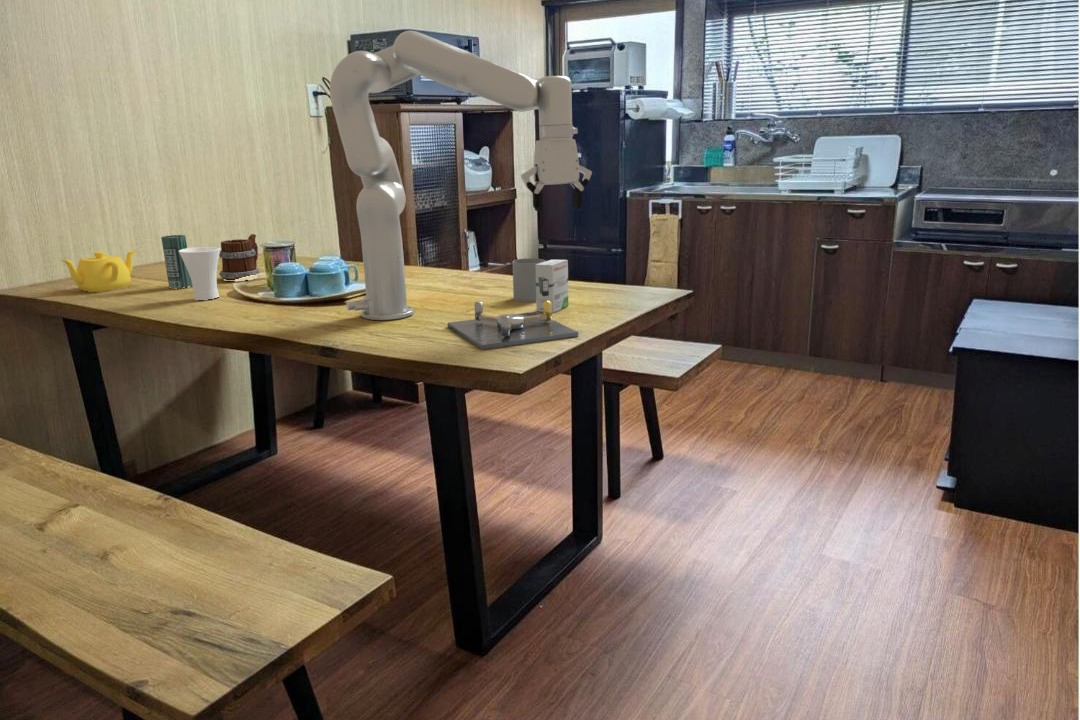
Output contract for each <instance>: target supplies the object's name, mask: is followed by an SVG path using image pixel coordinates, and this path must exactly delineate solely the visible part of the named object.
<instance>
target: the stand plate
mask: <svg viewBox="0 0 1080 720" xmlns="http://www.w3.org/2000/svg"><path fill="white" fill-rule="evenodd" d="M519 314H520V315H523V316H524V317H526V316H534V315H542V314H541V313H539V312H538V311H532V312H524V313H523V312H522V313H519ZM447 328H448V329H450V330H452V331H453V332H454V333H456V334H457V335H459V336H460V337H462V338H463V339H465V340H466V341H468V342H470V343H471V342H472V343H471V344H472V345H474V344H475V345H474V346H476V347H477V346H478V347H477V348H479V349H480V348H481V350H482V349H486V350H489V349H488V348H493V349H496V348H495V347H500V348H502V347H501V346H507V347H511V346H510V345H514V346H519V345H518V344H521V345H526V344H528V345H529V344H534V343H541V342H549V341H554V340H555V341H556V340H562V339H569V338H570V339H571V338H576V337H579V331H577V330H575V329H573V328H571V327H569V326H566V325H564V324H562V323H561V322H558V321H557V320H554V319H552V320H550V321H545V320H542V321H534V322H526V323H524V327H522V328H518V329H511V331H510V335H509V336H502V335H501V328H498V327H497V322H491V321H484V320H481V321H477V320H475V318H474V319H469V320H468V319H467V320H459V321H451V322H447Z"/></svg>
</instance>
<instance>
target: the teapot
mask: <svg viewBox="0 0 1080 720" xmlns="http://www.w3.org/2000/svg"><path fill="white" fill-rule="evenodd" d="M136 251H137V249H133V250H130V251H127V253H126V256H125V262H124V260H123V259H122V257H120V256H119V255H118V256H117V255H106V253H105V251H95V252H93V255H94V256H91V257H84V258H80V259H79V261H78V264H77V268H76V266H75V265H74V262H73V261H71V260H69V259H60V261H61V262H63V263H64V264H66V266H67V268H68V272H69V275H70V277H71V279H72V280H73V282H75V283H76V286H77V287H78V289H80V290H81V291H82V290H83V291H82V292H85V291H88V292H87V293H91V292H96V293H102V292H101V291H106V292H109V291H108V290H113V289H118V288H123V287H126V286H129V285H130V286H131V283H132V277H131V274H132V272H133V268H134V267H133V255H134V253H136ZM130 286H129V287H130ZM123 289H124V288H123ZM118 290H119V289H118ZM113 291H114V290H113Z"/></svg>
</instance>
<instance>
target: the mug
mask: <svg viewBox="0 0 1080 720" xmlns="http://www.w3.org/2000/svg"><path fill="white" fill-rule="evenodd" d="M256 238H257V234H255V233H253V234H250V235H249V236H248V238H247V239H243V238H242V239H231V240H230V239H228V240H222V241H221V242H220V248H221V249H220V254H219V258H221V264H222V265H221V266H222V269H221V270H220V272H219V273H218V274H219V276H220V278H222V280H223V279H226V280H235V279H239V278H242V277H246V276H250V275H256V274H258V273H261V272H260V269H259V267H257V260H258V256H259V255H258V254H259V253H258V252H259V248H258V244H257V243H256Z"/></svg>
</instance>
